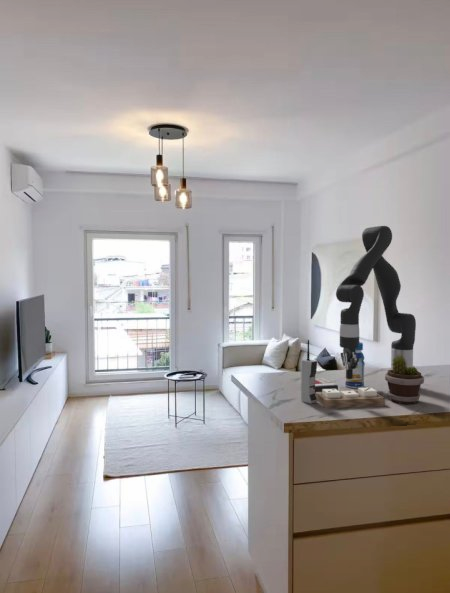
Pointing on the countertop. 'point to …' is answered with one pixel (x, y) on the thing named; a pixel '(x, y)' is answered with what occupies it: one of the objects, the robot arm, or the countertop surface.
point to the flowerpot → (403, 382)
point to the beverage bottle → (357, 371)
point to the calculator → (324, 385)
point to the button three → (367, 392)
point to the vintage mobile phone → (308, 380)
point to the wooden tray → (350, 401)
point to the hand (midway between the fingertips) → (349, 378)
